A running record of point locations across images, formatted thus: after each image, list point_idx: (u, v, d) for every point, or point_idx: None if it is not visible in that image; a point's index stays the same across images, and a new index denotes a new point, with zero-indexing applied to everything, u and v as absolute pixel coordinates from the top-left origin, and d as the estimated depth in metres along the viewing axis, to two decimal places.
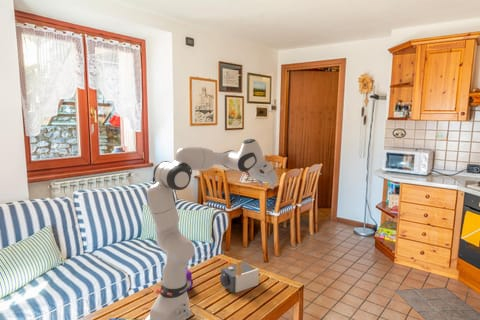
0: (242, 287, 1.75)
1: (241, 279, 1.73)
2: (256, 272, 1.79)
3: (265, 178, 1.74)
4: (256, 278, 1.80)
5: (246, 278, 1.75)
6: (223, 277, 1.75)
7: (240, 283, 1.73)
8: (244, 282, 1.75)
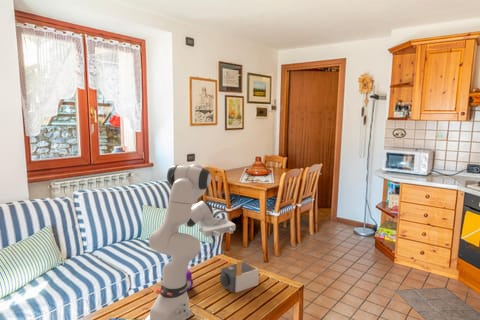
0: (242, 287, 1.75)
1: (241, 279, 1.73)
2: (256, 272, 1.79)
3: (225, 224, 1.89)
4: (256, 278, 1.80)
5: (246, 278, 1.75)
6: (223, 277, 1.75)
7: (240, 283, 1.73)
8: (244, 282, 1.75)
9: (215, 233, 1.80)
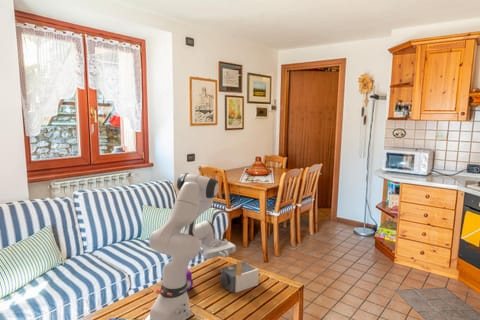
0: (242, 287, 1.75)
1: (241, 279, 1.73)
2: (256, 272, 1.79)
3: (225, 246, 1.90)
4: (256, 278, 1.80)
5: (246, 278, 1.75)
6: (223, 277, 1.75)
7: (240, 283, 1.73)
8: (244, 282, 1.75)
9: (220, 254, 1.82)
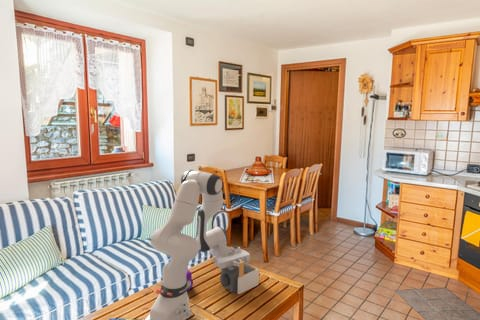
0: (244, 288, 1.73)
1: (243, 280, 1.72)
2: (257, 272, 1.79)
3: (239, 254, 1.79)
4: (256, 278, 1.79)
5: (248, 279, 1.74)
6: (223, 277, 1.75)
7: (242, 284, 1.72)
8: (246, 283, 1.74)
9: (235, 263, 1.72)
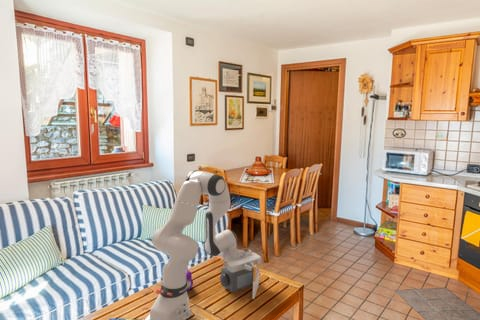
0: (255, 291, 1.71)
1: (255, 283, 1.69)
2: (259, 272, 1.79)
3: (250, 257, 1.76)
4: (258, 278, 1.80)
5: (256, 281, 1.73)
6: (223, 277, 1.75)
7: (255, 288, 1.69)
8: (256, 286, 1.72)
9: (246, 267, 1.68)
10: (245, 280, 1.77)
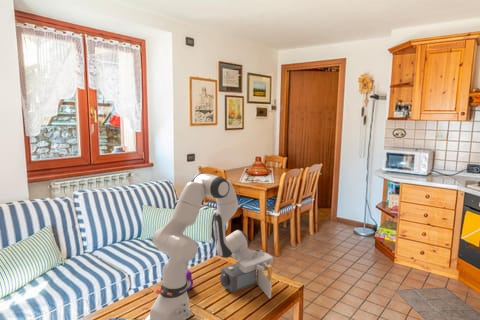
0: None
1: None
2: None
3: (262, 257, 1.76)
4: None
5: None
6: (223, 277, 1.75)
7: None
8: None
9: (259, 267, 1.68)
10: (245, 280, 1.77)
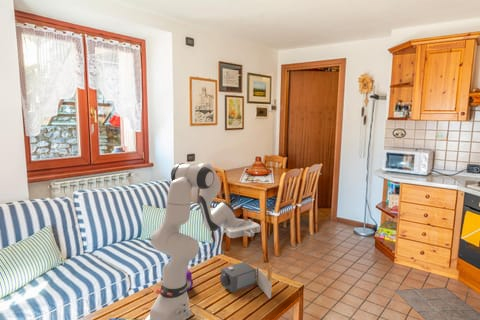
0: None
1: None
2: None
3: (250, 225, 1.82)
4: None
5: None
6: (223, 277, 1.75)
7: None
8: None
9: (246, 233, 1.74)
10: (245, 280, 1.77)
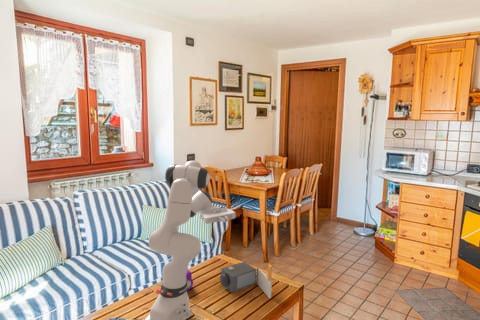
0: None
1: None
2: None
3: (225, 212, 1.92)
4: None
5: None
6: (223, 277, 1.75)
7: None
8: None
9: (220, 219, 1.85)
10: (245, 280, 1.77)
